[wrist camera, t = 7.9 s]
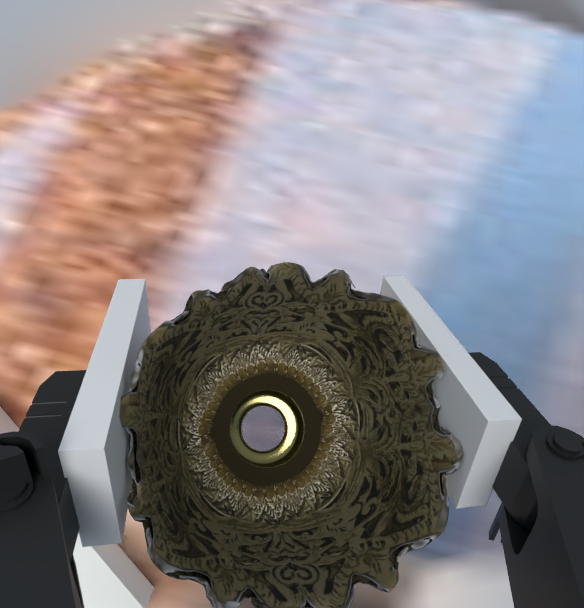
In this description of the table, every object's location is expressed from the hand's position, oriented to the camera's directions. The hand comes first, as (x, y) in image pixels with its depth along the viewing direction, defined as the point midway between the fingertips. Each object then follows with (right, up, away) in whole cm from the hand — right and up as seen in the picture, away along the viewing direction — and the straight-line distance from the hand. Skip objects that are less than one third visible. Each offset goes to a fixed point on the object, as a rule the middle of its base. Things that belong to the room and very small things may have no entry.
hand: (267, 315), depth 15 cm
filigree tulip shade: (0, -4, +3) cm, 5 cm away
